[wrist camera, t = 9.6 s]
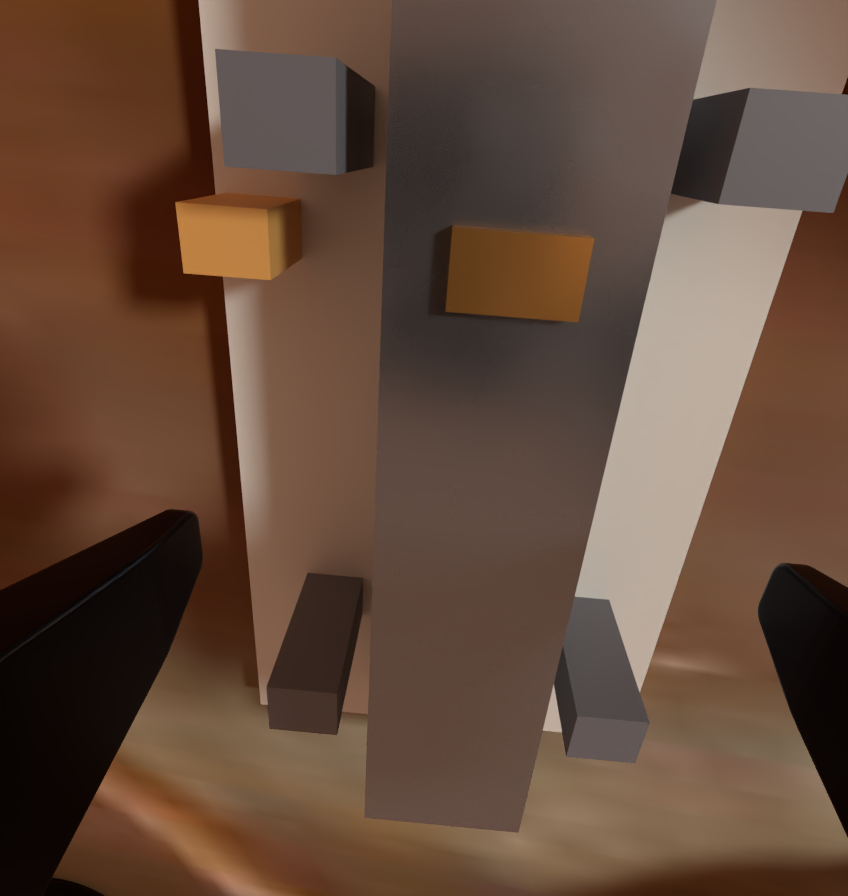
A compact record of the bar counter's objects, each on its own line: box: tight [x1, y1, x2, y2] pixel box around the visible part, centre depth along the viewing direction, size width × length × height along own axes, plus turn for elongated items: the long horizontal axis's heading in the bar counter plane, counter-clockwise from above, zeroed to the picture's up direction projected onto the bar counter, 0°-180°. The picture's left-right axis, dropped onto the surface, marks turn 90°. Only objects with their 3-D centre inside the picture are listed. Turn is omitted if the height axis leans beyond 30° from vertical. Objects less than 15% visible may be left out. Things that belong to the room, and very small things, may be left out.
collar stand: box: [175, 0, 848, 763], centre depth 13 cm, size 22×12×5 cm, turn 176°
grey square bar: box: [365, 0, 717, 832], centre depth 12 cm, size 20×4×4 cm, turn 176°
